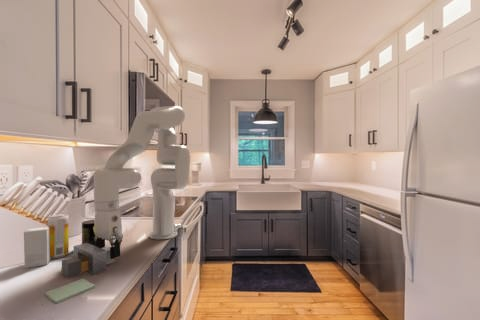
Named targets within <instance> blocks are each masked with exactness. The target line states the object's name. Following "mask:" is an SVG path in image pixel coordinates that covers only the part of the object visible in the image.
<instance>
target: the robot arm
mask: <svg viewBox="0 0 480 320" xmlns="http://www.w3.org/2000/svg"><path fill="white" fill-rule="evenodd" d="M185 115H186V114H185V111H184V110H183V108H182V107H181V106H178V105H171V106H170V105H169V106H168V105H167V106H158V107H154V108H152V109H150V110H143V111H140V112H138V114H137V115H136V116H135V118H134V121H133V124H132V126H131V128H130V131H129V134H128V135H127V138H126V140H125V141H124V143H122V144H121V145H120V146H119V147H118V148H117V149H116V150H115V151H114V152H112V154H111V155H110V156H109V158H108V159H107V161H106V162H105V165H104V168H103V169H100V170H95V172H94V173H93V206H94V207H93V211H94V219H93V220H94V227H93V230H94V236H95V238H94V240H95V246H96V247H99V248H104V247H106V241H108V242H109V245H110V246H109V247H110V259H114V260H115V259H117V258H119V257H120V256H121V246H122V242H123V237H124V235H123V229H122V228H123V227H122V225H123V224H122V216H121V211H120V191H119V190H121V189H127V190H128V189H129V190H130V189H134V188H136V187H137V186H138V185H140V183H141V180H142V176H141V173H140V172H139V171H138V170H136V169H134V168H129V167H128V168H126V167H124V166H125V165H126V163H128V162H129V161H130V160H131V159H132V158H134V157H136V156H139V155H140V154H141V155H142V153H144V152H146V151H147V150H149V149H148V148H149V145H150V143H151V140H152V139H153V135H154V132H157V135H158V137H157V149H156V161H157V163H158V165H162V166H174V168H170V167H159V168H157V169H155V170H153V171H152V172H151V174H150V183H151V188H152V231H151V232H150V233H149V234H148V237H149V238H150V239H151V240H159V241H160V240H161V241H162V240H168V239H172V238H175V237H177V235H178V231H177V229H180V228H182V224H181V223H177V224H176V223H175V195H174V193H173V190H184V189H185V188H186V187H187V185H188V183H189V180H190V179H189V177H190V167H191V154H190V153H191V152H190V149H189V148H188V147H187V146H185V145H182V144H178V145H177V143H178V142H177V139H178V135H177V133H176V131H175V129H174V128H176V127H178V126H180V125H181V124H183V122H184V121H185V118H186V116H185Z"/></svg>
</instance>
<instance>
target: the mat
mask: <svg viewBox="0 0 480 320" xmlns="http://www.w3.org/2000/svg"><path fill="white" fill-rule="evenodd" d="M94 288H96V285H95V284H94V283H92V282H89V281H88V280H86V279H85V278H81V279H78V280H75V281H73V282H70V283H68V284H67V283H66V284H65V285H61V286H60V287H57V288H54V289H51V290H49V291H46V292H45V293H44V295H45V296H46V295H47V296H48V297H47V296H46V297H47V298H49V299H50V300H51V299H52V300H53V302H54V303H55V304H59V303H61V302H63V301H65V300H68V299H70V298H73V297H75V296H77V295H80V294H83V293H85V292H87V291H89V289H90V290H91V289H94ZM84 291H85V292H84ZM82 292H83V293H82ZM52 300H51V301H52Z"/></svg>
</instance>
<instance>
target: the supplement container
mask: <svg viewBox="0 0 480 320" xmlns="http://www.w3.org/2000/svg"><path fill="white" fill-rule="evenodd" d="M94 220H95V219H89V220H84V221H82V222H81V244H84V243H89V244H91V245H94V246H95V240H94V238H95V236H94V230H93V227H94Z"/></svg>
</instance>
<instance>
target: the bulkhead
mask: <svg viewBox="0 0 480 320" xmlns="http://www.w3.org/2000/svg"><path fill="white" fill-rule="evenodd" d="M73 257H77V258H79V259H81V263H82V262H85V261H88V270H87V273H88V274H89V275H91V276H96V275H98V274H101V273H104V272H106V271H107V265H106V250H104V249H101V248H99V247H96V246H94V245H91V244H89V243H84V244H82V243H80V244H77V245H73Z"/></svg>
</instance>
